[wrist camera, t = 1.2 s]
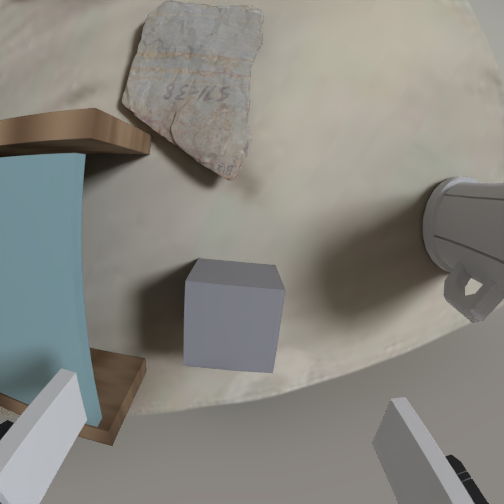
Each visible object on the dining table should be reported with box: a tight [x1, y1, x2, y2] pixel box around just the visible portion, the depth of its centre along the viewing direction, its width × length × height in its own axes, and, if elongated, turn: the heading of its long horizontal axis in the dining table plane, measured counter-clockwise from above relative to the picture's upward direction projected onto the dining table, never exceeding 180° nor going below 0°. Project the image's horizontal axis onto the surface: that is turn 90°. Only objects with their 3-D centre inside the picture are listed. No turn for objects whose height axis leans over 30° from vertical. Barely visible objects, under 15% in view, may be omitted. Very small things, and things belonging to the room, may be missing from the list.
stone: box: [122, 0, 264, 180], centre depth 21 cm, size 15×11×3 cm
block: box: [184, 258, 285, 373], centre depth 22 cm, size 6×6×6 cm
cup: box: [423, 177, 504, 323], centre depth 19 cm, size 10×9×12 cm
